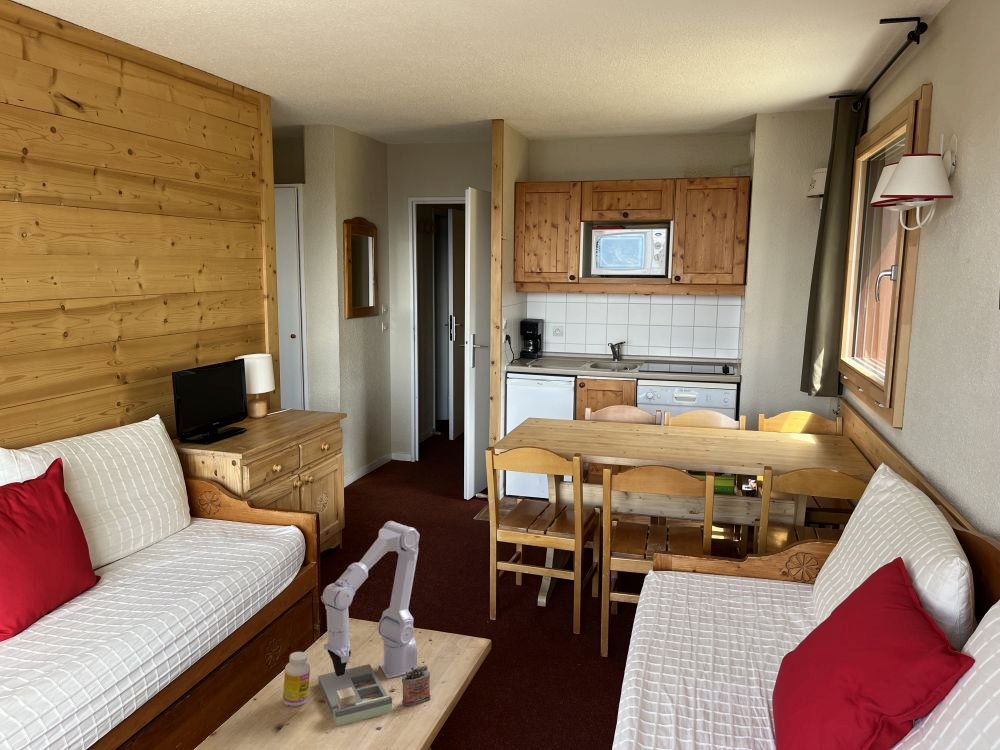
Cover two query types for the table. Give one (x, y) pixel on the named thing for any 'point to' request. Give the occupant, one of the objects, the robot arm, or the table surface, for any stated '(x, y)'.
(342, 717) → the grey divided tray
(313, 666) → the table surface
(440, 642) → the table surface
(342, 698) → the block
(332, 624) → the robot arm
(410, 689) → the ornate red tin
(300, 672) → the supplement bottle
